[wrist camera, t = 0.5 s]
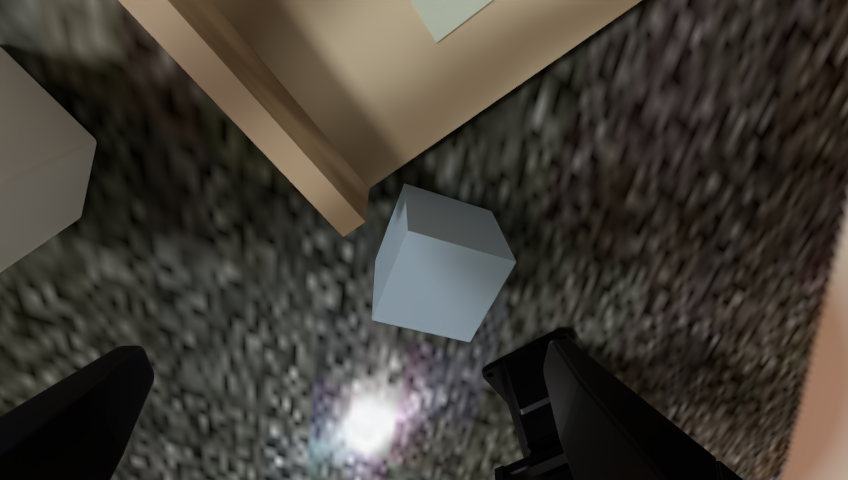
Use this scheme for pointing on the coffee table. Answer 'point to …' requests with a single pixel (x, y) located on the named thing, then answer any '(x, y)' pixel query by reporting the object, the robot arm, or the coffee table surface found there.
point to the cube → (439, 265)
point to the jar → (37, 164)
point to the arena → (361, 75)
